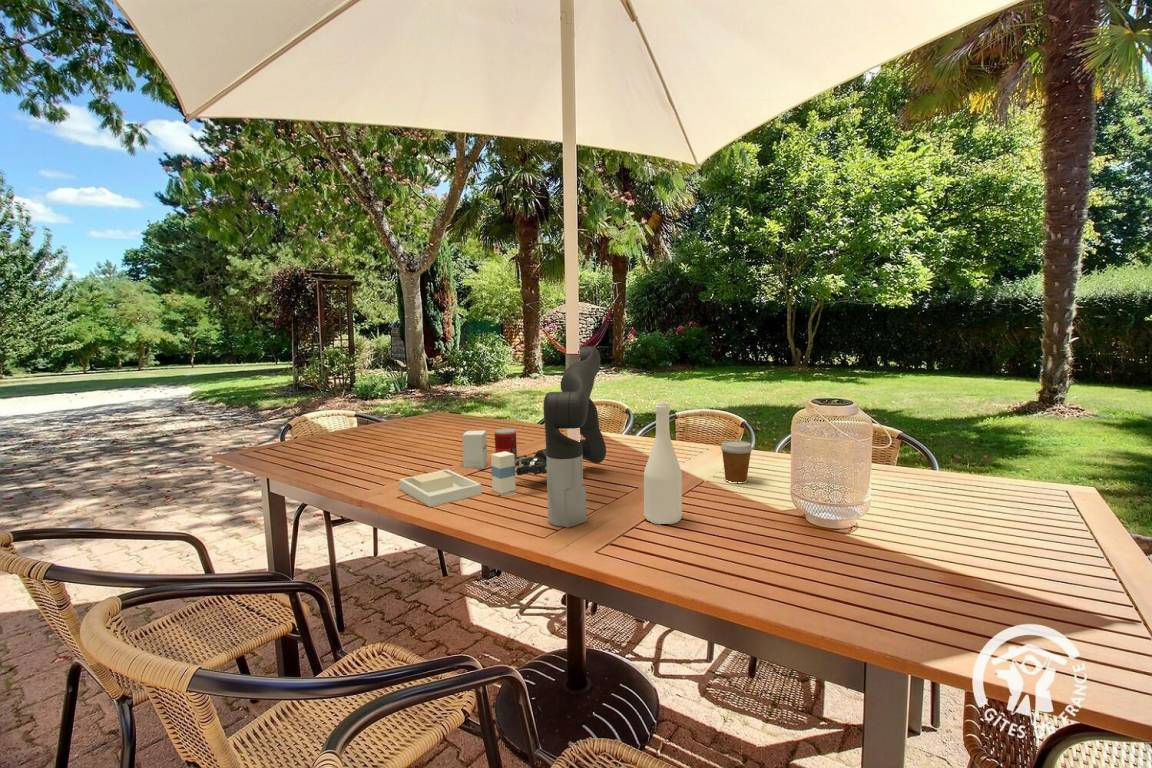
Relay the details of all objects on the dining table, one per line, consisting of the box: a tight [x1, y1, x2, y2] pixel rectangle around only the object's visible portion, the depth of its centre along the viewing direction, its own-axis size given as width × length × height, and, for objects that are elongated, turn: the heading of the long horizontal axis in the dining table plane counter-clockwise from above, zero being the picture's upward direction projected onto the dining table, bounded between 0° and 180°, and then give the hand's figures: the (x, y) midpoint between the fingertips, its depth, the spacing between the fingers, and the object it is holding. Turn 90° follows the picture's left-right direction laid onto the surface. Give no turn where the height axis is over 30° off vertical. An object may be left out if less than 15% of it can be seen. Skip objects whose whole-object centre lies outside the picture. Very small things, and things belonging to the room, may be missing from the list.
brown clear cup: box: [720, 439, 753, 483], centre depth 165 cm, size 10×10×12 cm
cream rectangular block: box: [411, 470, 453, 493], centre depth 162 cm, size 7×10×4 cm
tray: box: [398, 469, 483, 508], centre depth 159 cm, size 22×16×4 cm
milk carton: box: [490, 451, 517, 498], centre depth 158 cm, size 5×5×12 cm
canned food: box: [494, 428, 518, 457], centre depth 198 cm, size 8×8×11 cm
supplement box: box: [461, 430, 488, 470], centre depth 188 cm, size 7×7×13 cm
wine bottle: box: [643, 401, 683, 525], centre depth 134 cm, size 10×10×30 cm
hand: (509, 469), depth 160 cm, fingers open, 8 cm apart
